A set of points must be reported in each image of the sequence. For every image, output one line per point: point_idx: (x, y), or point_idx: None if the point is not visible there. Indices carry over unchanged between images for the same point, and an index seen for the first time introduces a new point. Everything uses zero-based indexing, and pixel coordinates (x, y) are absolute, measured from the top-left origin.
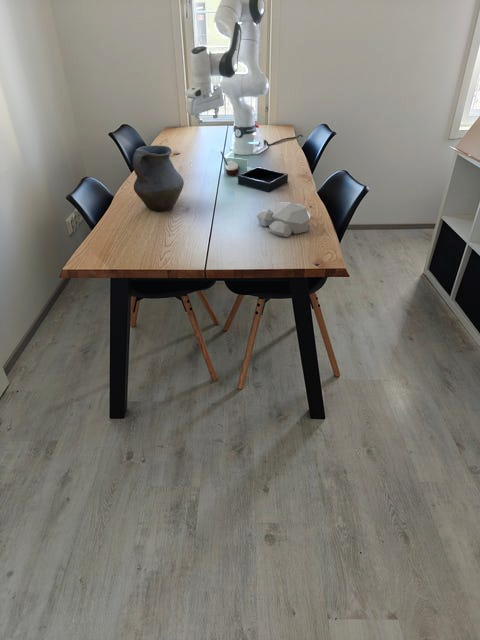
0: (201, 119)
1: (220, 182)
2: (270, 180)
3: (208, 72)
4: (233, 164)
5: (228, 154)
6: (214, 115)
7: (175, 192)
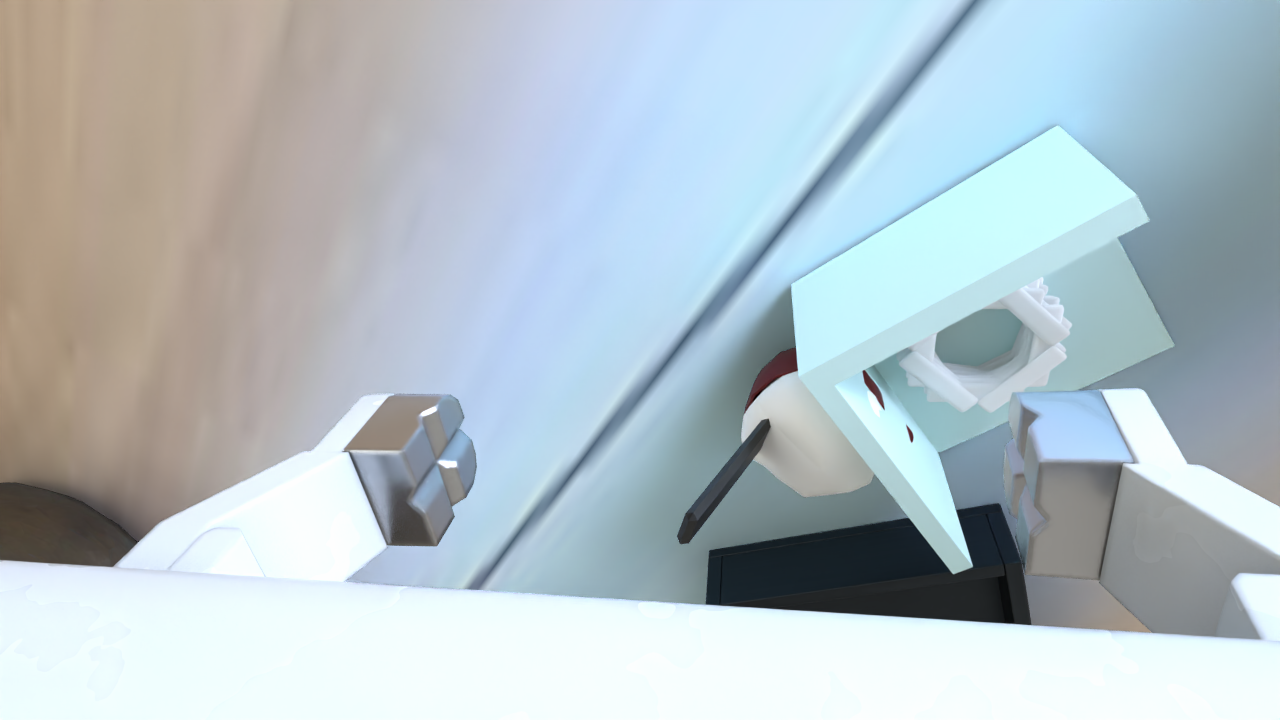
0: (423, 540)
1: (611, 448)
2: None
3: None
4: (809, 485)
5: (935, 320)
6: (1025, 522)
7: None
